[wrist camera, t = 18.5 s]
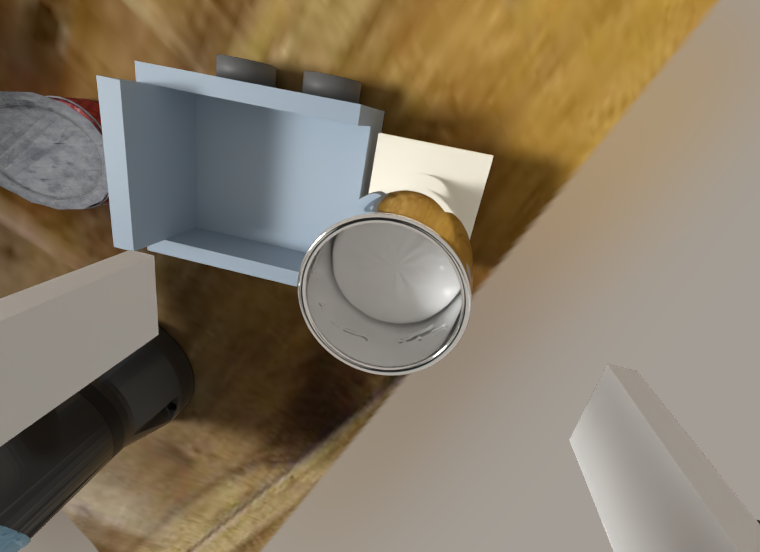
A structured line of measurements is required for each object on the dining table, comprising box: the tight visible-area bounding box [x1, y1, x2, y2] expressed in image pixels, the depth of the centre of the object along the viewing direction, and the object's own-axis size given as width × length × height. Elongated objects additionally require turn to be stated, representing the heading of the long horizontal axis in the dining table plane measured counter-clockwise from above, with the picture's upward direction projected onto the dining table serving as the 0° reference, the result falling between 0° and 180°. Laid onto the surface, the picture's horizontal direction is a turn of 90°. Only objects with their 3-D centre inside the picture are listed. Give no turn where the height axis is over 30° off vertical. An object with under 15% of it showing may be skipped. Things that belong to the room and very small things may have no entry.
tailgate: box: [369, 133, 493, 240], centre depth 28 cm, size 2×10×8 cm
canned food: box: [0, 91, 110, 209], centre depth 34 cm, size 11×10×10 cm
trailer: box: [96, 54, 385, 287], centre depth 28 cm, size 24×16×12 cm
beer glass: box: [297, 174, 473, 375], centre depth 21 cm, size 7×7×15 cm
